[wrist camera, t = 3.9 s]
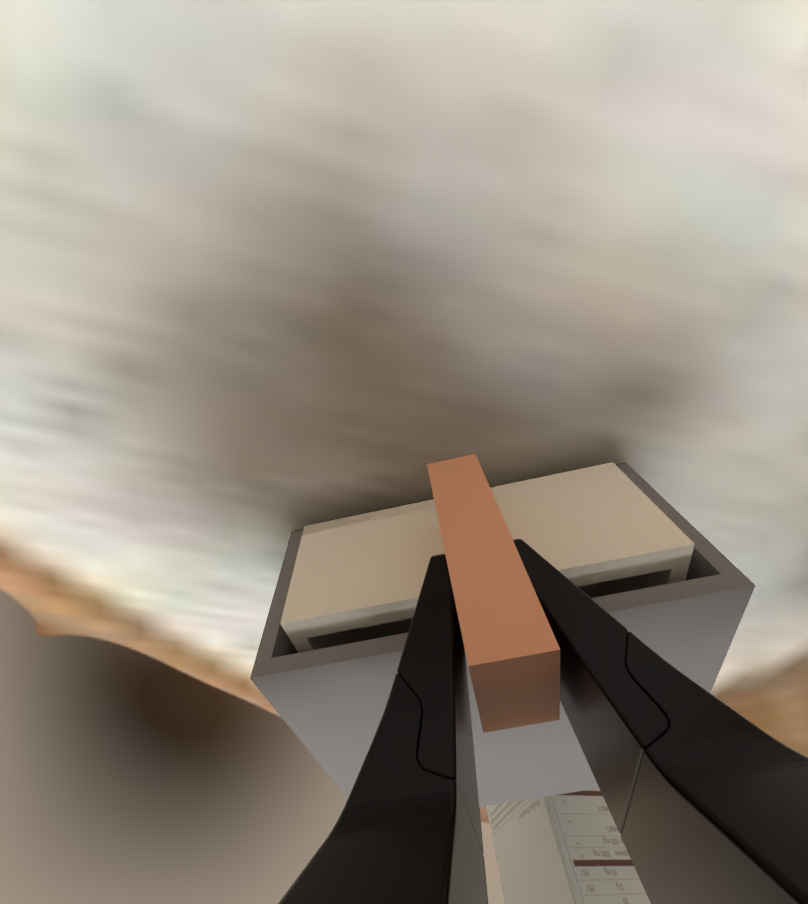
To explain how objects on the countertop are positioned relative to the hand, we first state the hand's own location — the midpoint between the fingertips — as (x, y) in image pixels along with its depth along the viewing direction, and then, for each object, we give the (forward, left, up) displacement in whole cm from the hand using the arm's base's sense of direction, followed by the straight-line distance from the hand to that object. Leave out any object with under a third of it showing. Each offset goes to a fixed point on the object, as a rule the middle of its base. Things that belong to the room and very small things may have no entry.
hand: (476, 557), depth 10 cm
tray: (0, +6, -4) cm, 8 cm away
